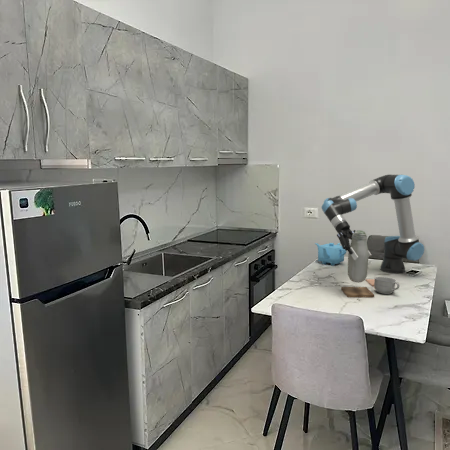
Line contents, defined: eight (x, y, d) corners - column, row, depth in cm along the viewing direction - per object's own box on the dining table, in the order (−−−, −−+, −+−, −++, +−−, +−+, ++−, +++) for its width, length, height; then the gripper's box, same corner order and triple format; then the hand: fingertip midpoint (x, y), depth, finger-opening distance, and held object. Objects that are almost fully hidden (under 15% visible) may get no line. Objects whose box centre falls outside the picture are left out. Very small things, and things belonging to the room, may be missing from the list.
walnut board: (366, 289, 231) (366, 287, 231) (374, 297, 217) (374, 294, 217) (341, 289, 231) (341, 286, 231) (347, 297, 217) (347, 294, 217)
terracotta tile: (385, 280, 248) (385, 279, 248) (393, 286, 236) (393, 285, 236) (365, 280, 248) (365, 279, 248) (371, 286, 237) (372, 284, 236)
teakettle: (347, 266, 284) (348, 245, 282) (320, 266, 283) (321, 245, 281) (339, 260, 302) (340, 240, 300) (313, 260, 302) (314, 240, 300)
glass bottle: (365, 285, 216) (367, 232, 212) (345, 282, 221) (347, 231, 217) (368, 280, 225) (371, 230, 221) (349, 278, 230) (351, 228, 226)
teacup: (369, 291, 228) (370, 277, 227) (384, 288, 233) (385, 274, 232) (388, 298, 216) (389, 283, 215) (404, 295, 220) (404, 281, 219)
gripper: (349, 227, 238) (371, 258, 228) (322, 230, 225) (344, 264, 215) (357, 219, 233) (380, 250, 223) (330, 222, 220) (353, 256, 210)
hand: (363, 257), depth 219 cm, fingers closed on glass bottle, 10 cm apart
